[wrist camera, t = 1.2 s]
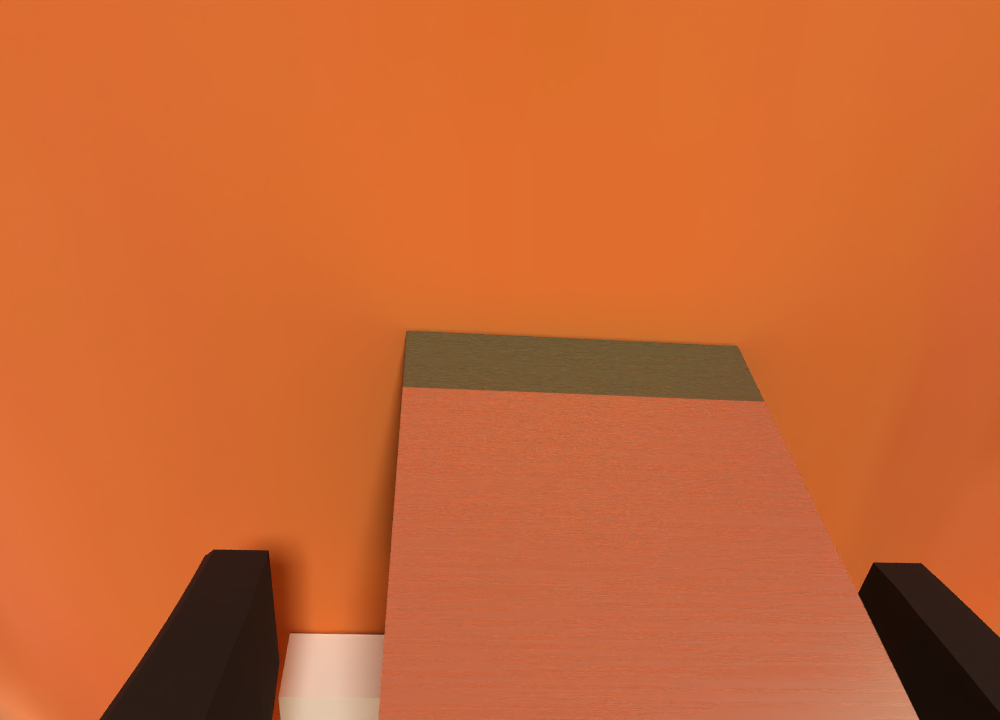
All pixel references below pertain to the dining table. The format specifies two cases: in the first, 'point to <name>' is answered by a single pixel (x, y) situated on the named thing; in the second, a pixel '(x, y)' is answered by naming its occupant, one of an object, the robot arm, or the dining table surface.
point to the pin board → (332, 677)
